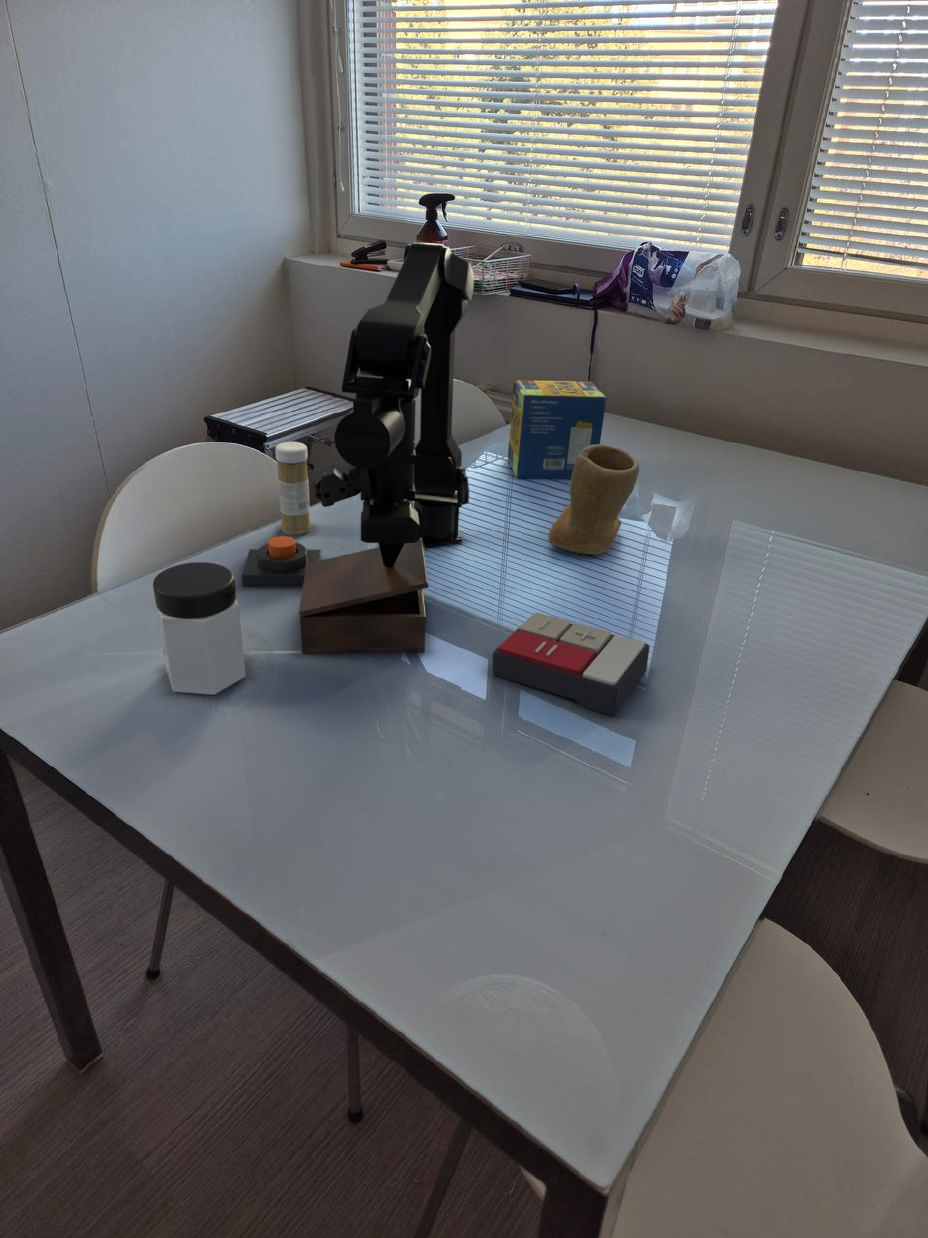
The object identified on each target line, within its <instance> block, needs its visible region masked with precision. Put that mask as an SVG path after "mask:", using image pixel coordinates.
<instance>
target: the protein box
mask: <svg viewBox="0 0 928 1238" xmlns="http://www.w3.org/2000/svg"><path fill="white" fill-rule="evenodd" d="M511 397H512V398H511V399H512V400H511V411H510V424H509V425H510V426H509V438H508V448H507V461H508V463H509V465H510V468H511V469H512V473H513V474H514V476H515V478H516V479H566V480H567V479H570V480H571V477H572V472H573V469H574V465H575V462H576V459H577V457H578V455H579V453H580V452H581V451H582V450H583V449H584V448H586V447H588V446H591V445H597V444H601V438H602V432H603V425H604V420H605V419H604V417H605V411H606V402H607V396H605V395H604V393H602V391H601V390H600V389H599V388H598V387H597V386H596V384H594V383H593V381H587V380H586V381H583V380H581V381H579V380H578V381H576V380H575V381H573V380H526V379H525V380H523V379H514V380H513V386H512V396H511Z"/></svg>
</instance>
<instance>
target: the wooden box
mask: <svg viewBox="0 0 928 1238" xmlns="http://www.w3.org/2000/svg"><path fill="white" fill-rule="evenodd" d="M424 598H425V597H424V589H420V590H416V591H412V592H407V593H403V594H399V595H394V596H390V597H385V598H381V599H377V600H372V601H368V602H364V603H359V604H355V605H351V606H346V607H342V608H337V609H333V610H329V611H324V612H320V613H316V614H311V615H307V616H303V617H301V616H300V615H299V624H300V625H299V626H300V642H301V643H300V644H301V654H308V655H309V654H390V653H392V654H396V653H397V654H399V653H400V654H401V653H403V654H404V653H405V654H406V653H412V654H413V653H426V623H427V615H426V607H425V606H426V605H425V599H424Z"/></svg>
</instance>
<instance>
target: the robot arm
mask: <svg viewBox="0 0 928 1238" xmlns="http://www.w3.org/2000/svg"><path fill="white" fill-rule="evenodd" d="M474 275H475V274H474V271H473V269H472V266H471V263H470V262H469V261H467V260H465V259H464V258H462V257H460V256H458V255H457V254H455V253H452V251H451V249H450V247H449V246H445V244H442V243H432V242H431V243H430V242H417V241H413V242H412V243H407V244H406V246H405V248H404V253H403V263H402V264H401V267H400V269H399V271H398V273H397V276H396V278H395V279H394V282H393V284H392V286H391V287H390V290H389V292H388V295H387V297H386V299H385V301H384V302H383V303H382V304H380V305H376V306H374V307H371V308H369V309H367V311H366V312H365V313H364V314H363V316H362V317H361V318H360V320H359V321H358V322H357V325H356V327H355V328H353V330H352V331H351V334H350V338H349V343H348V349H347V356H346V361H345V367H344V372H343V379H342V383H341V392H342V393H348V394H355V398H354V399H353V401H352V409H351V410H350V411H349V412H348V413H347V414H346V415H345V416H343V417H342V418H341V419H340V421H339V422H338V424H337V425H336V429H335V432H334V435H333V436H334V437H333V438H334V446H335V448H336V451H337V453H338V454H339V456H340V457H341V459H340V460H336V461H334V462H330V463H327V464H324V465H322V466H319V467H317V468H316V469H314V470H313V471H312V477H311V483H312V486H313V488H314V490H315V495H314V496H315V498H316V499H318V500H319V502H320V504H321V507H323V508H327V507H331V506H334V505H335V503H339V502H341V501H344V500H348V499H350V498H353V497H356V496H358V495H359V494H360V501H362V511H361V512H360V542H363V543H366V544H378V547H379V548H380V552H381V556H382V560H383V564H384V567H393V566H394V564H395V562H396V560H397V558H398V556H399V554H400V552H401V550H402V548H403V546H404V544H405V543H416V542H418V541H419V538H421V537H422V541H423V547H424V548H430V547H431V548H432V547H436V546H437V547H438V546H443V545H448V544H449V545H450V544H454V543H460V542H463V540H464V538H463V536H462V535H461V534H460V533H459V523H460V522H459V521H460V508H461V509H462V507H463V505H464V506H465V505H467V504H469V502H470V485H469V478H468V476H467V472H466V468H465V467H464V466H462V460H463V459H462V455H463V453H462V450H461V449H460V447H459V445H458V443H457V442H456V440H455V439H454V436H453V435H452V427H453V403H454V401H453V400H454V399H453V398H454V374H455V373H454V372H455V347H456V346H455V345H456V343H455V342H456V329H457V328H458V326H459V325H460V323H461V321H462V320H463V318H464V317H465V315H466V314H467V312H468V309H469V302H471V301H472V299H473V295H474V287H475V286H474V285H475V276H474ZM358 373H359V374H360V375H359V376H358ZM419 393H420V423H419V441H418V442H417V444H416V402H417V399H416V398H417V397H418V396H419Z"/></svg>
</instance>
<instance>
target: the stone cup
mask: <svg viewBox="0 0 928 1238" xmlns="http://www.w3.org/2000/svg"><path fill="white" fill-rule="evenodd" d="M639 472H640V465H639V463H638V461H637V459H636V458H635V457H634V455H632V454H630V453H629V452H627V451H626V450H624V449H622V448H620V447H617V446H614V445H609V444H605V443H604V444H601V443H600V444H597V445H591V446H588V447H586V448H584V449H583V450H582V451H581V452H580V453H579V455H578V457H577V459H576V462H575V465H574V469H573V472H572V477H571V479H570V481H569V497H570V503H569V504H567V506H566V507H565V508H564V509H563V511H561V513H560V515H559V516H558V517H557V518H556V520H555V521H554V523H553V524H552V525H551V528H550V530H549V532H548V536H547V538H548V541H549V543H550V544H551V545H553V546H554V547H557V548H559V549H561V550H564V551H568V552H572V553H575V554H576V553H577V554H583V555H601V554H603V553H605V552H606V551H608V550H609V548H610V547H612V545H613V544H614V542H615V540H616V538H617V536H618V533H619V531H620V527H621V526H622V520H620V519H619V514H620V512H621V511H622V509H624V506H625V505H626V503H627V501H628V500H629V498H630V497H631V495H632V494H633V491H634V489H635V486H636V484H637V479H638V475H639Z"/></svg>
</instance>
